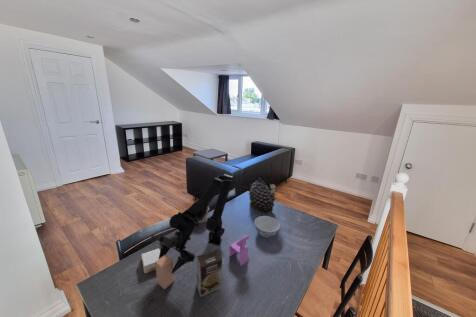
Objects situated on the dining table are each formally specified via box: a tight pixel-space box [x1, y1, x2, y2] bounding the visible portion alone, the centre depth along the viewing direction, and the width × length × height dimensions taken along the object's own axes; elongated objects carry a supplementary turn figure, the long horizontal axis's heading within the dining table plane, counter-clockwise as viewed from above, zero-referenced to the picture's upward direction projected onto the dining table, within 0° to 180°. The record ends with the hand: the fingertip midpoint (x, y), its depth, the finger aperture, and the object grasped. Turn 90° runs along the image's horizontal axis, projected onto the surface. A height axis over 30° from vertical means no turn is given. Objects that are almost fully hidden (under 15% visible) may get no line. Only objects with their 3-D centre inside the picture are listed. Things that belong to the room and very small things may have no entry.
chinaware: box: [254, 215, 281, 239], centre depth 121 cm, size 15×15×8 cm
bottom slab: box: [141, 259, 156, 275], centre depth 98 cm, size 9×9×2 cm
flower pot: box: [198, 205, 210, 224], centre depth 130 cm, size 9×9×9 cm
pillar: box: [155, 254, 175, 290], centre depth 87 cm, size 5×5×12 cm
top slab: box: [141, 248, 161, 271], centre depth 96 cm, size 8×8×2 cm
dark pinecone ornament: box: [248, 176, 276, 216], centre depth 144 cm, size 21×15×25 cm
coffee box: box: [196, 249, 223, 298], centre depth 85 cm, size 9×6×16 cm
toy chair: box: [228, 234, 250, 267], centre depth 102 cm, size 8×9×15 cm
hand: (165, 267), depth 86 cm, fingers open, 9 cm apart
